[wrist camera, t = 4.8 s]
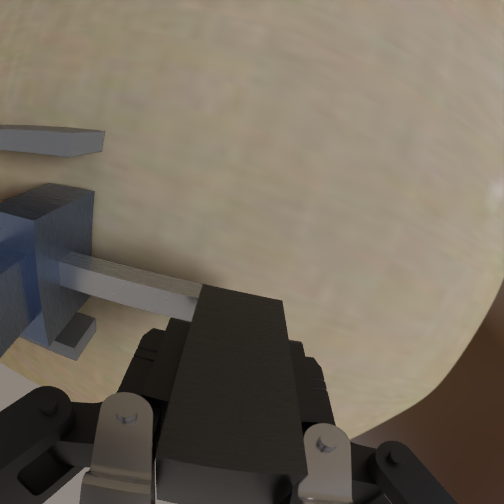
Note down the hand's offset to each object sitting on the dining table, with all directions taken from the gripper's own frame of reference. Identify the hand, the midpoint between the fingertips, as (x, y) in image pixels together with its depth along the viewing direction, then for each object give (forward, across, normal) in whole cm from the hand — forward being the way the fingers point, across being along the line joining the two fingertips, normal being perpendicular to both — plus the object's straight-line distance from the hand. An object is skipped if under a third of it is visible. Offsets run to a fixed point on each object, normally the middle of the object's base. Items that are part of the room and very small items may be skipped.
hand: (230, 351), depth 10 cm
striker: (+5, +5, 0) cm, 7 cm away
